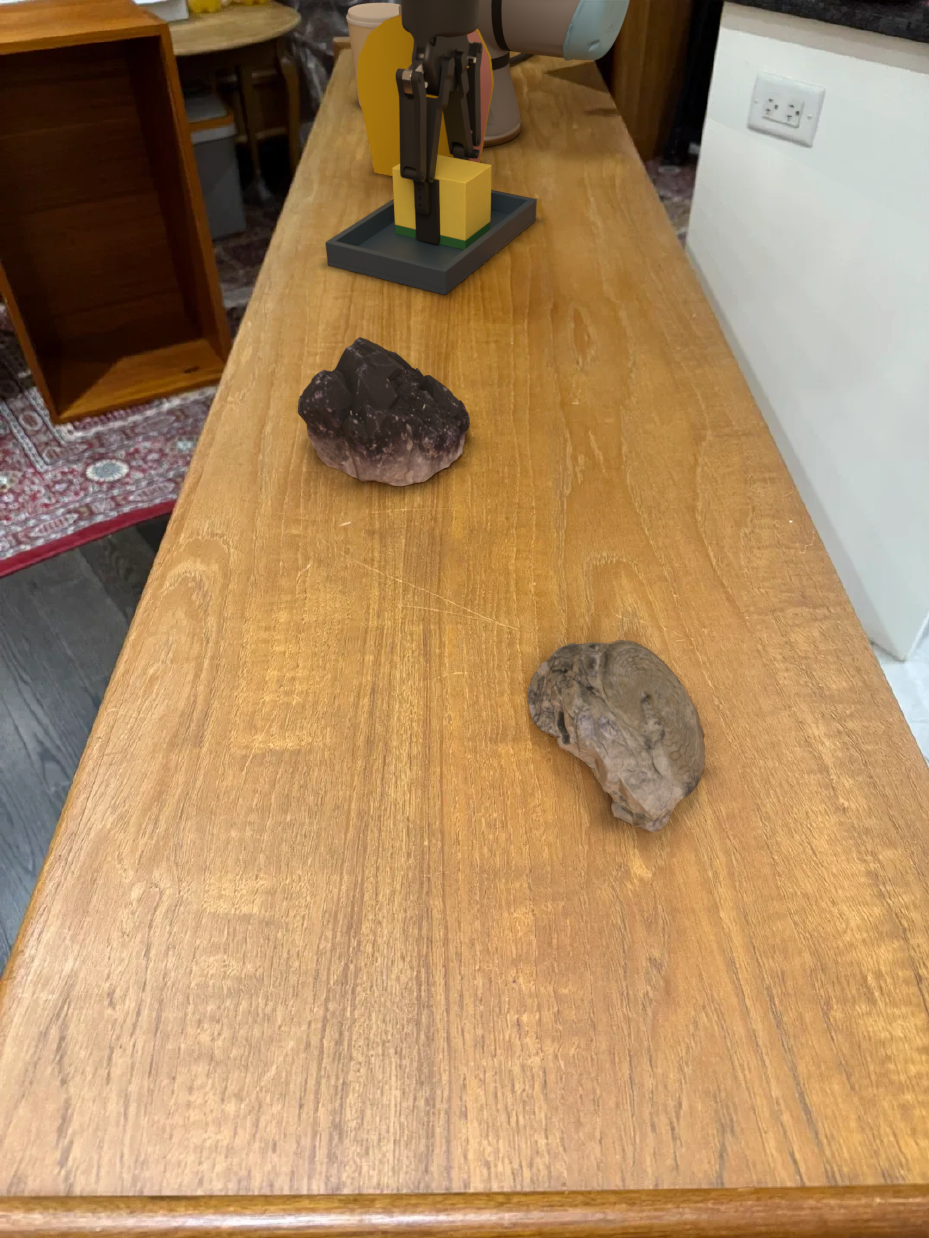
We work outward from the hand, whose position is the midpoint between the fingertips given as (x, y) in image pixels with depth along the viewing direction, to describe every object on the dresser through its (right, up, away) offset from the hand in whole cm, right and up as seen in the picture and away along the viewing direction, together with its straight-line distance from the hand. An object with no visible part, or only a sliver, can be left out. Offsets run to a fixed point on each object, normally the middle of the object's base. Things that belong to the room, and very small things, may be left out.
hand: (443, 229), depth 99 cm
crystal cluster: (-4, -30, -28) cm, 41 cm away
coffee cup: (-10, +34, +35) cm, 50 cm away
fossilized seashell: (+11, -51, -48) cm, 71 cm away
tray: (-1, -2, 0) cm, 2 cm away
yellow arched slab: (-2, +14, +15) cm, 21 cm away
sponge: (0, 0, 0) cm, 0 cm away
